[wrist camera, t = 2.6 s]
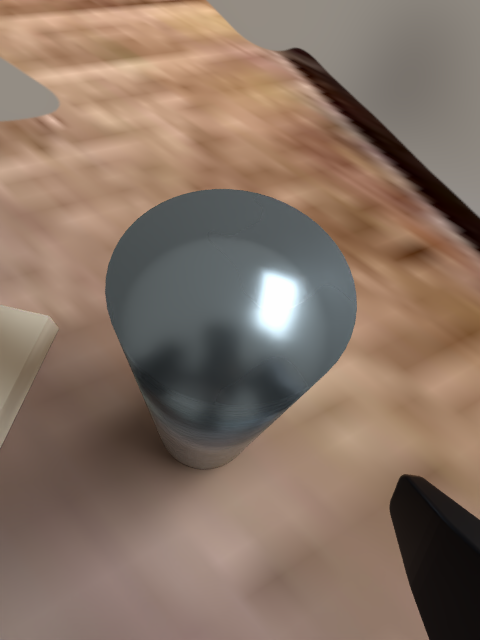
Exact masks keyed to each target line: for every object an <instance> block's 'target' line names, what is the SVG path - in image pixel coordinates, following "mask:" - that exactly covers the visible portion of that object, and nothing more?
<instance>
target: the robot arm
mask: <svg viewBox="0 0 480 640" xmlns="http://www.w3.org/2000/svg"><path fill="white" fill-rule="evenodd" d="M390 515H391V518H392V522H393V526H394V529H395V533H396V537H397V541H398V544H399V548H400V552H401V555H402V559H403V563H404V567H405V570H406V574H407V577H408V581H409V584H410V587H411V590H412V593H413V596H414V599H415V602H416V604H417V607H418V610H419V613H420V615H421V618H422V621H423V623H424V626H425V629H426V632H427V634H428V637H429V640H480V520H479V519H478V518H476V517H475V516H474V515H472V514H471V513H470V512H468V511H467V510H466V509H464V508H463V507H462V506H460V505H459V504H458V503H456V502H455V501H454V500H452V499H451V498H449V497H448V496H447V495H445V494H444V493H443V492H441V491H440V490H439V489H437V488H436V487H435V486H433V485H432V484H431V483H429V482H428V481H427V480H425V479H424V478H422V477H420V476H415V475H408V474H404V475H402V476H401V477H400V478H399V480H398V483H397V485H396V488H395V491H394V493H393V496H392V498H391V501H390Z"/></svg>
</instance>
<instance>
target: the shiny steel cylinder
mask: <svg viewBox="0 0 480 640" xmlns="http://www.w3.org/2000/svg"><path fill="white" fill-rule="evenodd" d="M105 294H106V302H107V309H108V312H109V316H110V319H111V323H112V325H113V328H114V330H115V332H116V335H117V337H118V339H119V342H120V344H121V346H122V348H123V351H124V353H125V355H126V358H127V360H128V362H129V365H130V367H131V369H132V372H133V374H134V376H135V379H136V381H137V383H138V386H139V388H140V390H141V393H142V395H143V397H144V400H145V402H146V404H147V407H148V409H149V411H150V414H151V416H152V418H153V421H154V423H155V425H156V428H157V430H158V432H159V435H160V437H161V439H162V441H163V444H164V446H165V447H166V449H167V450H168V452H169V453H170V454H171V455H172V456H173V457H174V458H175V459H176V460H178V461H179V462H181V463H182V464H184V465H187V466H189V467H192V468H197V469H212V468H216V467H220V466H222V465H225V464H227V463H228V462H230V461H232V460H233V459H234V458H235V457H236V456H238V455H239V454H240V453H241V452H242V451H243V450H244V449H245V448H246V447H247V446H248V445H249V444H250V443H252V442H253V441H254V440H255V439H256V438H257V437H258V436H259V435H260V434H261V433H262V432H263V431H264V430H266V429H267V428H268V427H269V426H270V425H271V424H272V423H273V422H274V421H275V420H276V419H277V418H278V417H280V416H281V415H282V414H283V413H284V412H285V411H286V410H287V409H288V408H289V407H290V406H291V405H292V404H294V403H295V402H296V401H297V400H298V399H299V398H300V397H301V396H302V395H303V394H304V393H305V392H306V391H308V390H309V389H310V388H311V387H312V386H313V385H314V384H315V383H316V382H317V381H318V380H319V379H320V378H322V377H323V376H324V375H325V374H326V373H327V372H328V371H329V370H330V369H331V367H332V366H333V365H334V364H335V363H336V362H337V361H338V359H339V358H340V356H341V355H342V353H343V352H344V350H345V349H346V346H347V344H348V342H349V340H350V338H351V335H352V332H353V328H354V325H355V319H356V311H357V301H356V290H355V285H354V280H353V277H352V274H351V271H350V268H349V266H348V264H347V262H346V260H345V258H344V256H343V254H342V253H341V251H340V250H339V248H338V246H337V245H336V244H335V242H334V241H333V240H332V239H331V237H330V236H329V235H328V234H327V233H326V232H325V231H324V230H323V229H322V228H321V227H320V226H319V225H318V224H317V223H315V222H314V221H313V220H312V219H310V218H309V217H308V216H306V215H305V214H303V213H302V212H300V211H299V210H297V209H295V208H293V207H291V206H290V205H288V204H286V203H284V202H281V201H279V200H276V199H274V198H271V197H268V196H265V195H261V194H258V193H253V192H248V191H243V190H232V189H212V190H201V191H196V192H191V193H187V194H183V195H180V196H177V197H174V198H172V199H169V200H167V201H165V202H162V203H160V204H159V205H157V206H155V207H154V208H152V209H150V210H149V211H147V212H146V213H145V214H143V215H142V216H141V217H139V218H138V219H137V220H136V221H135V222H134V223H133V224H132V225H131V226H130V227H129V228H128V230H127V231H126V232H125V233H124V235H123V236H122V237H121V239H120V240H119V242H118V244H117V246H116V248H115V249H114V251H113V254H112V257H111V259H110V262H109V265H108V270H107V275H106V289H105Z"/></svg>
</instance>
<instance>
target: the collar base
mask: <svg viewBox="0 0 480 640" xmlns="http://www.w3.org/2000/svg"><path fill="white" fill-rule="evenodd" d="M58 329H59V328H58V327H57V326H56V324H55V323H54V322H53V320H52V319H51V318H50V316H47V315H42V314H38V313H34V312H29V311H25V310H21V309H16V308H12V307H8V306H3V305H0V448H1V446H2V444H3V442H4V440H5V438H6V436H7V434H8V432H9V430H10V427H11V425H12V423H13V421H14V419H15V417H16V415H17V413H18V411H19V409H20V407H21V405H22V403H23V401H24V399H25V397H26V395H27V393H28V391H29V389H30V387H31V385H32V382H33V380H34V378H35V376H36V374H37V372H38V370H39V368H40V366H41V364H42V362H43V360H44V358H45V356H46V354H47V352H48V350H49V348H50V346H51V344H52V342H53V340H54V337H55V335H56V333H57V331H58Z"/></svg>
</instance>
